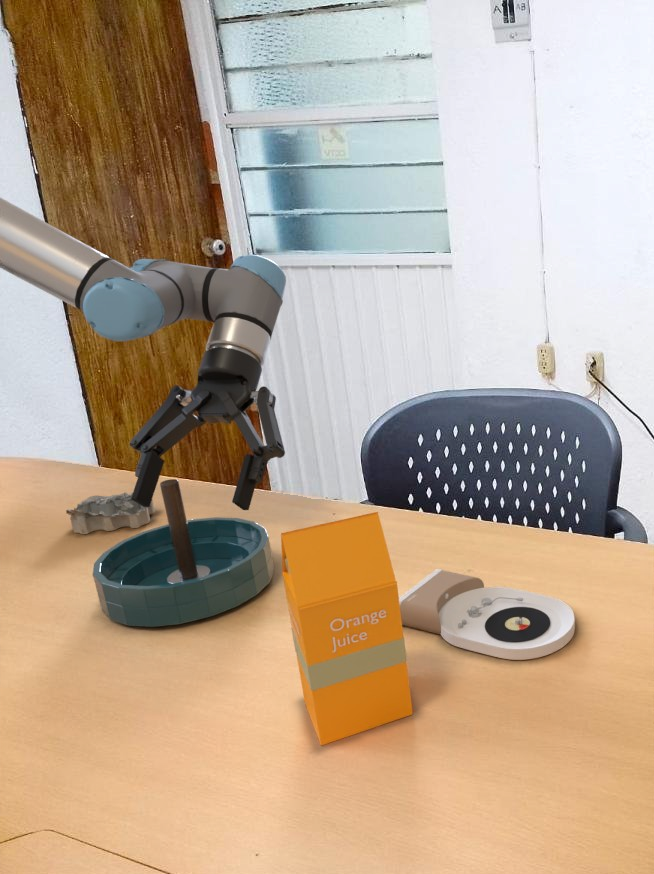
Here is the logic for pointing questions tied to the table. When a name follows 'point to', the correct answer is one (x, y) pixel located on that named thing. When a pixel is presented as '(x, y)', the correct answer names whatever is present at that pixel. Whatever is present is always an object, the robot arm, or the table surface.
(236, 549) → the bowl
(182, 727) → the table surface
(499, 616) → the record player
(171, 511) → the brown rod
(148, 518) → the egg carton
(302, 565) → the orange juice
